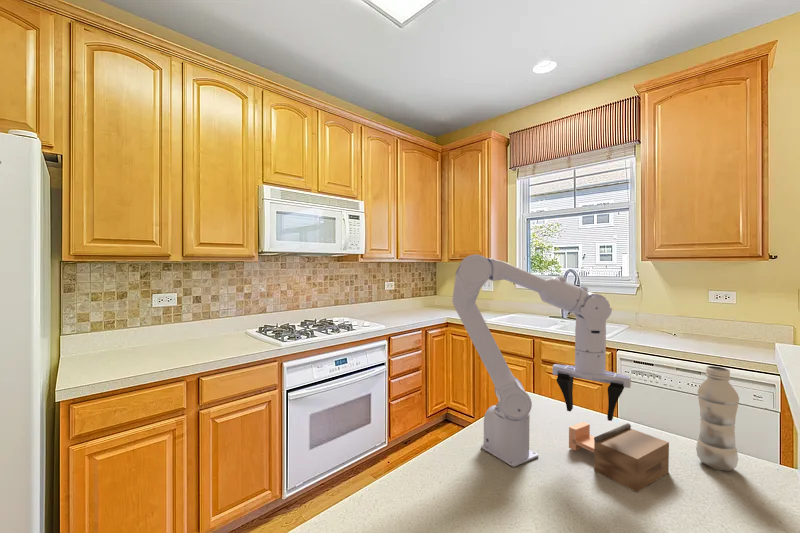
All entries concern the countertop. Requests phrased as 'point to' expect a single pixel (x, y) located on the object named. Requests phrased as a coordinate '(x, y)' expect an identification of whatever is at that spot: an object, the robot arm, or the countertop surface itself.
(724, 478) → the countertop surface
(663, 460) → the dispenser
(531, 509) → the countertop surface
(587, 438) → the peach l-shaped bracket
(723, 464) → the plastic bottle
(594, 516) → the countertop surface
